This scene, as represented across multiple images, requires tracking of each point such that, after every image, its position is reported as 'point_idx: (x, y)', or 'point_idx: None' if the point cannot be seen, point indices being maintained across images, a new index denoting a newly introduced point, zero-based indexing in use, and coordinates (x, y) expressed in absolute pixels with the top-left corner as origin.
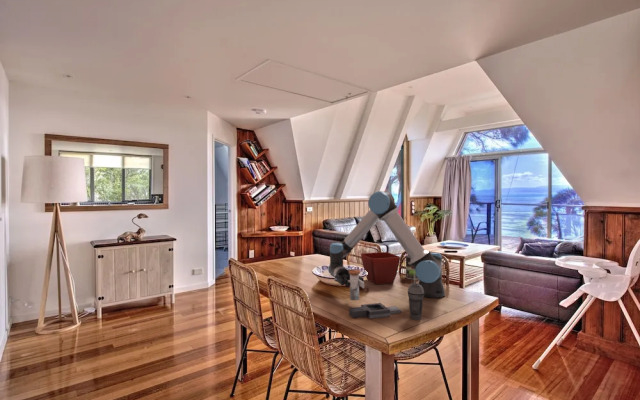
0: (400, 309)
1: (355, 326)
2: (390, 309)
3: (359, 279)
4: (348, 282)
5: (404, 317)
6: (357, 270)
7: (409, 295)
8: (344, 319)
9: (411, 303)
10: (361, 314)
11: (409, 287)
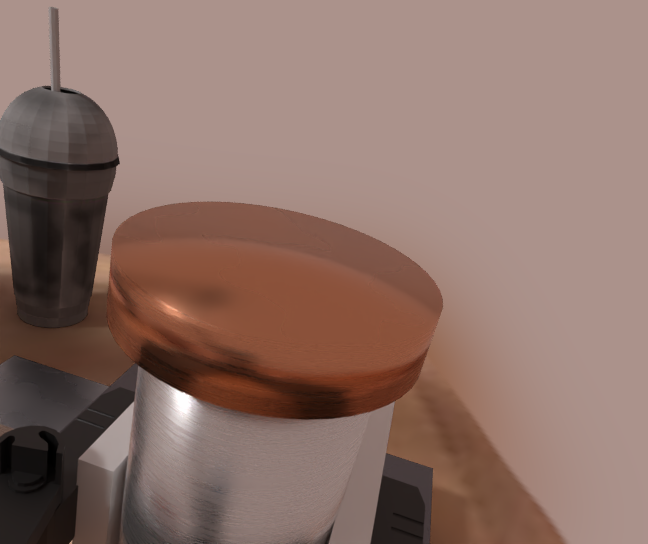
0: (10, 359)
1: (456, 429)
2: (68, 395)
3: (100, 437)
4: (396, 518)
5: (91, 343)
6: (213, 227)
7: (110, 179)
8: (493, 536)
9: (102, 224)
10: None
11: (96, 127)
